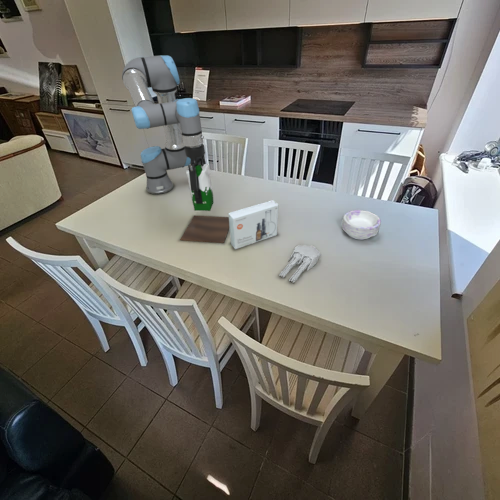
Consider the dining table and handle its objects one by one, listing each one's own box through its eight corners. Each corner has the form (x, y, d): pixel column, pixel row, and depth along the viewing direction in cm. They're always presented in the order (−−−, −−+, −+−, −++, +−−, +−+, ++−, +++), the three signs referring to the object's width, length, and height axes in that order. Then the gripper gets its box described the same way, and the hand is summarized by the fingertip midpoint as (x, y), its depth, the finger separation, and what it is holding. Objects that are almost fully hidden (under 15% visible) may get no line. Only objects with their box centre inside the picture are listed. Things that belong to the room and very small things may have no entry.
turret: (275, 278, 107) (274, 270, 103) (302, 245, 116) (302, 237, 113) (297, 289, 101) (297, 281, 98) (324, 255, 111) (325, 246, 108)
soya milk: (192, 211, 120) (183, 167, 107) (197, 201, 127) (189, 158, 114) (212, 212, 119) (205, 167, 106) (216, 201, 126) (210, 158, 113)
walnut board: (194, 216, 140) (194, 215, 139) (233, 218, 137) (233, 217, 136) (180, 240, 124) (180, 239, 124) (223, 243, 121) (223, 242, 121)
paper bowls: (351, 220, 131) (354, 205, 126) (382, 232, 122) (387, 217, 117) (333, 234, 123) (336, 219, 118) (365, 248, 114) (370, 233, 109)
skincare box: (235, 250, 117) (232, 218, 107) (230, 243, 121) (226, 212, 111) (278, 235, 124) (279, 204, 114) (271, 229, 128) (272, 198, 118)
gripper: (194, 155, 97) (204, 211, 111) (210, 135, 114) (217, 186, 128) (174, 155, 98) (186, 210, 112) (193, 135, 115) (201, 185, 129)
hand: (202, 197), depth 120 cm, fingers closed on soya milk, 9 cm apart
